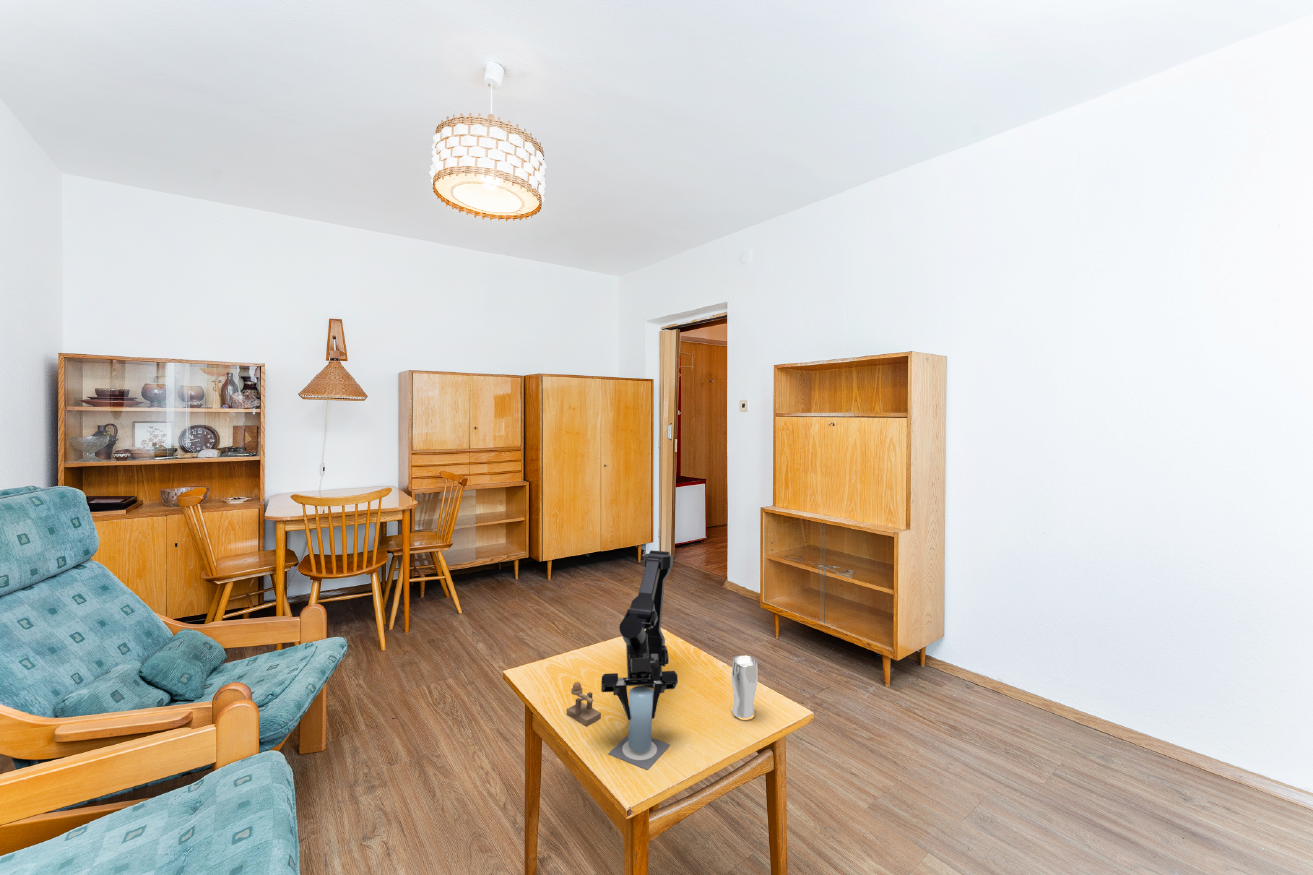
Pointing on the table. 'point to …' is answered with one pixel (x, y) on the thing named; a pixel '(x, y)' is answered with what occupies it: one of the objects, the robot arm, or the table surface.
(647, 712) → the pale blue capsule
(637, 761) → the pad
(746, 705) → the beer glass
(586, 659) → the table surface
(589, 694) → the catapult
